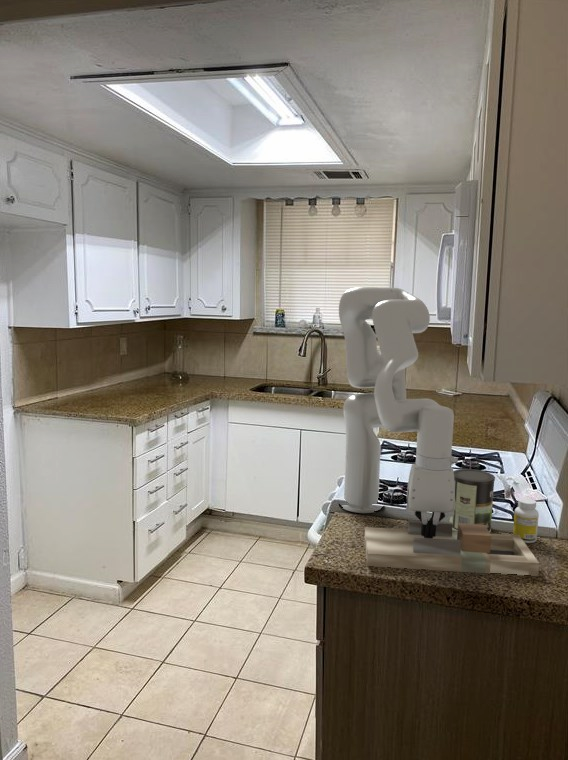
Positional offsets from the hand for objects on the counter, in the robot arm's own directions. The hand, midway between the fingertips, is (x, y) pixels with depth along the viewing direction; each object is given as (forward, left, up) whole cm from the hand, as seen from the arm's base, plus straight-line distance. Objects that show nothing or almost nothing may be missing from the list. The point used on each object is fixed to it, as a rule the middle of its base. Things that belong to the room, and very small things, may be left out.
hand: (427, 538), depth 131 cm
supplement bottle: (-12, +25, -4) cm, 28 cm away
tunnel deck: (0, +4, -4) cm, 6 cm away
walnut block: (+1, +10, -1) cm, 10 cm away
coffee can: (-17, +13, -4) cm, 22 cm away
